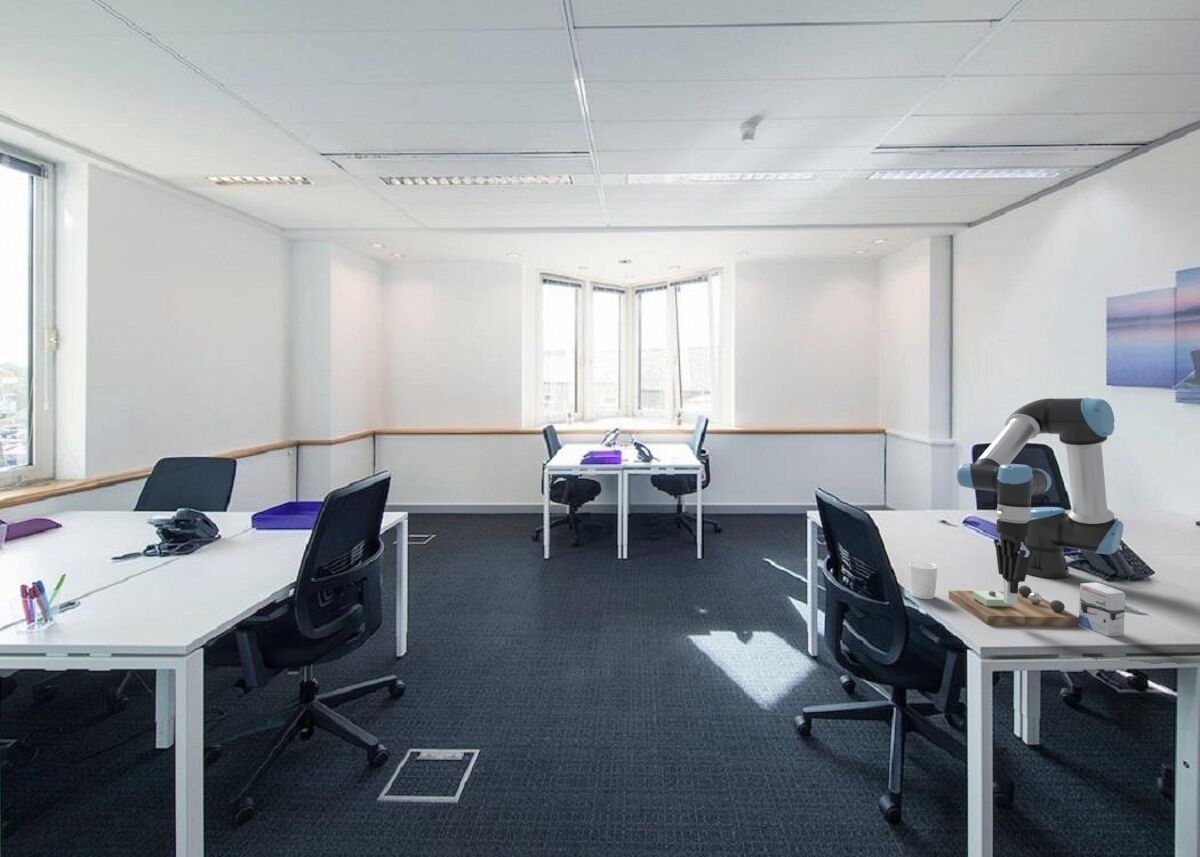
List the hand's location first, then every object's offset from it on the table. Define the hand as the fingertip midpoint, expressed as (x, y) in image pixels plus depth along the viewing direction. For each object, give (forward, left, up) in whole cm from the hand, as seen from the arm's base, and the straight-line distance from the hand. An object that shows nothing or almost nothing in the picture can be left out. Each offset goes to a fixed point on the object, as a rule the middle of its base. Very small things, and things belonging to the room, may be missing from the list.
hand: (1010, 603), depth 156 cm
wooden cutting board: (-5, -9, -6) cm, 12 cm away
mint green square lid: (0, -9, -3) cm, 9 cm away
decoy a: (-13, -15, -2) cm, 20 cm away
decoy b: (-14, -3, -2) cm, 15 cm away
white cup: (+14, -21, -6) cm, 26 cm away
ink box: (-21, +3, -6) cm, 22 cm away
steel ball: (-12, -9, -2) cm, 15 cm away
